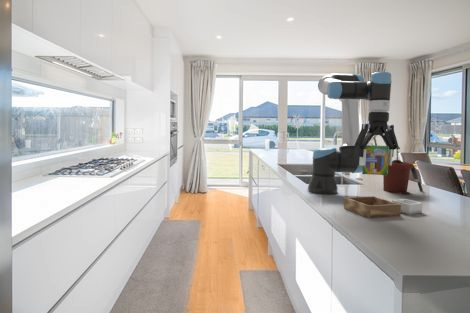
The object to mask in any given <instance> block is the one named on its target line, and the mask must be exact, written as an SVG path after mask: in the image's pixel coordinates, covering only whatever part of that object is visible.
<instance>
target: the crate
mask: <svg viewBox="0 0 470 313" xmlns="http://www.w3.org/2000/svg"><path fill="white" fill-rule="evenodd" d="M343 199H344V200H343V209H346V210H347V211H350V212H353V213H355V214H357V215H360V216H362V217H365V218H367V219H369V218H373V219H374V218H387V217H388V218H389V217H400V216H401V212H400V211H401V204H398V203H395V202H392V200H388V199H384V198H381V197H377V196H374V195H373V196H371V195H370V196H352V197H351V196H350V197H349V196H348V197H343Z"/></svg>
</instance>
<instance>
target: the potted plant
mask: <svg viewBox="0 0 470 313" xmlns="http://www.w3.org/2000/svg"><path fill="white" fill-rule="evenodd" d="M395 150H396V159H394V160H393V159H392V165H388V174H387V175H386V176H385V175H382V176H383V179H382V180H383V189H382V190H383V192H388V193H394V194H401V195H404V196H406V195H410V193H411V192H409V191H408V187H409V179H410V172H411V175H412V179H413V180H414V181H415V182H417V185H418V189H419V192H423V190H424V189H423V186H422V183H421V181H420V178H421V177H420V176H419V172H418V169H417V167H415V165H414V163H412V162H409V161H402V160H400V159H399V156H398V155H399V153H400V151H398V150H401V147H400V146H399V145H398V148H396V149H395Z"/></svg>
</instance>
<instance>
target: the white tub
mask: <svg viewBox="0 0 470 313" xmlns="http://www.w3.org/2000/svg"><path fill="white" fill-rule="evenodd" d="M391 202H395V203H398V204H401V211H400V213H403V214H405V215H413V214H422V213H423V202H421V201H420V202H419V201H416V200H412V199H407V198H401V199H400V198H399V199H393V200H391Z"/></svg>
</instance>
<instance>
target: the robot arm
mask: <svg viewBox="0 0 470 313" xmlns="http://www.w3.org/2000/svg"><path fill="white" fill-rule="evenodd" d="M392 82H393V81H392V74H391V72H388V71H376V72H372V73H371V75H370V80H369V81H366V80H365V78H364V76H363V75H362V74H357V73H356V74H355V73H331V74H327V75H326V74H325V75H324V76H322V77H321V78H320V80H318V83H317V89H318V90H319V92H320V93H321V94H324V95H326V96H327V98H328V99H331V100H339V102H341V144H340V146H339V147H338V149H337V147H336V146H335V147H334V146H333V147H319V148H316V149H314V150H313V152H312V153H313V154H312V168H311V171H312V172H311V173H312V174H311V178H310V181H309V183H308V186H307V191H308V192H311V193H314V194H321V195H322V194H323V195H334V194H337V193H338V190H339V189H338V185H337V182H336V177H335V175H336V173H351V174H360V173H362V170H363V166H365V164H366V149H364V148H365V147H366V146H367V145H368V144H369V142H370V141H371V140H372V139H373V138H374V137H375V136H380V137H381V138H382V140H383V142H384V144H385V146H389V156H388V165H392V161H393V157H394V152H395V150H397V149H396V148H398V146H399V142H398V139H397V136H396V132H395V126H394V124H388V123H389V120H390V113H389V111H390V106H391V105H390V104H391V92H392V91H391V90H392ZM360 100H364V101H368V102H369V103H368V111H369V113H368V120H367V122H368V123H361V129H360V112H359V108H360V107H359V102H360Z"/></svg>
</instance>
